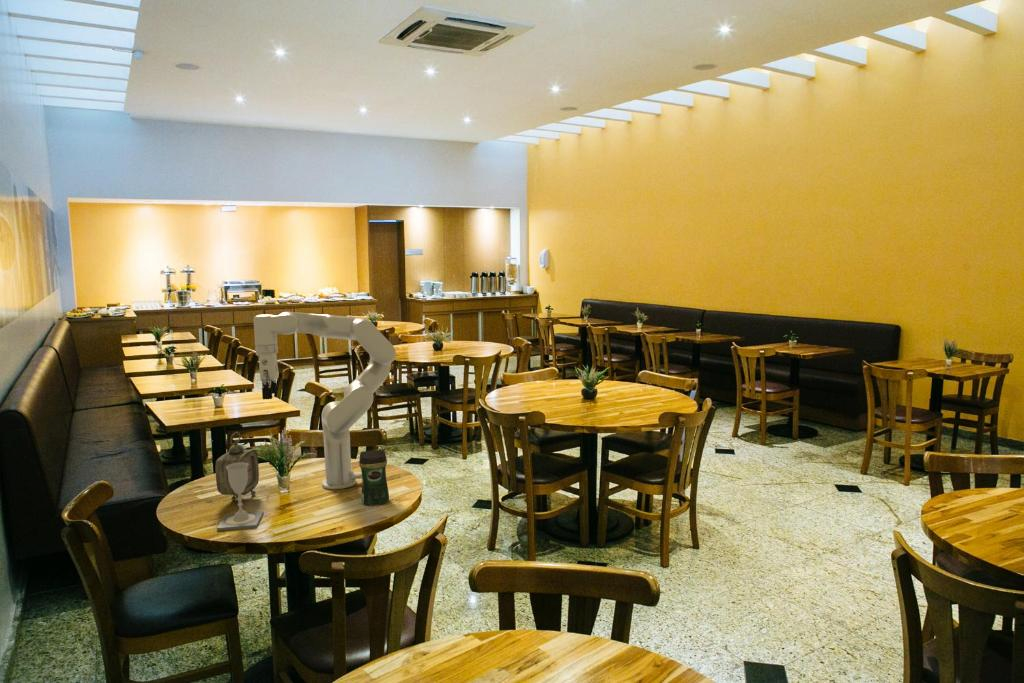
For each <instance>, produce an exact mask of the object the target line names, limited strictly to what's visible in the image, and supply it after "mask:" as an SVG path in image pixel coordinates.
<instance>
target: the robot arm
mask: <svg viewBox="0 0 1024 683" xmlns="http://www.w3.org/2000/svg"><path fill="white" fill-rule="evenodd" d="M253 330H254V331H253V333H254V346H255V348H254V349H255V355H258V363H259V364H258V365H259V366H258V367H259V379H260V381H261V394H262V395H261V396H262V400H273V394H277V393H278V387H277V379H279V377H280V376H279V374H280V373H279V365H278V357H277V354H278V353H279V347H278V346H279V345H278V335H287V336H289V335H292V334H295V333H299V334H300V333H301V334H310V335H313V336H314V335H315V336H317V337H320V338H324V339H334V340H337V339H339V340H349V341H350V340H351V341H357V343H359V344H360V346H361V348H363V349H364V350H365V351H366V352H367V353H368V354H369V363H368V365H367V366H366V368H365V369H364V370H363V371H362V372H361V373H360V374H359V375H358V376H356V378H355V379H354V380H353V381H352V382H351V383H349V384H348V385H347V387H346V388H345V389H344V391H343V398H342V399H341V400H340V401H335V400H334V401H331V402H328V403H327V404H326V405H324V407H323V409H322V412H321V425H322V434H323V448H324V449H323V450H324V452H323V453H324V467H325V479H323V480H322V482H321V487H322V488H324V489H327V490H341V489H346V488H349V487H350V488H351V487H353V486H354V485H355V484H356V483H357V480H362V472H355V471H354V470H353V468H352V457H351V435H350V429H351V427H353V425H355V424H356V423H357V422H358V421H359V419H361V418H362V417H363V415H365V414H366V413H367V412H368V410H369V409H370V408H371V406H372V405H373V402H374V393H375V392H376V391H377V390H378V389H379V388H380V387H381V385H382V384H383V383H384V382H385V381H386V380H387V378H388V376H389V374H390V372H391V367H392V363H393V362H394V361H395V359H396V357H397V351H396V348H395V346H394V345H393V344H392V342H390V341H389V340H388V339H387V337H385V336H384V335H383V333H382V332H381V331H380V330H379V329H378V328H377V327H376V325H374V323H372V321H370V320H368V319H367V318H364V317H355V316H344V315H332V314H317V313H309V312H308V313H305V312H295V311H294V312H293V311H283V312H281V313H279V314H278V315H274V314H269V313H268V314H267V313H265V314H263V313H262V314H258V315H255V316H254V317H253Z"/></svg>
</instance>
